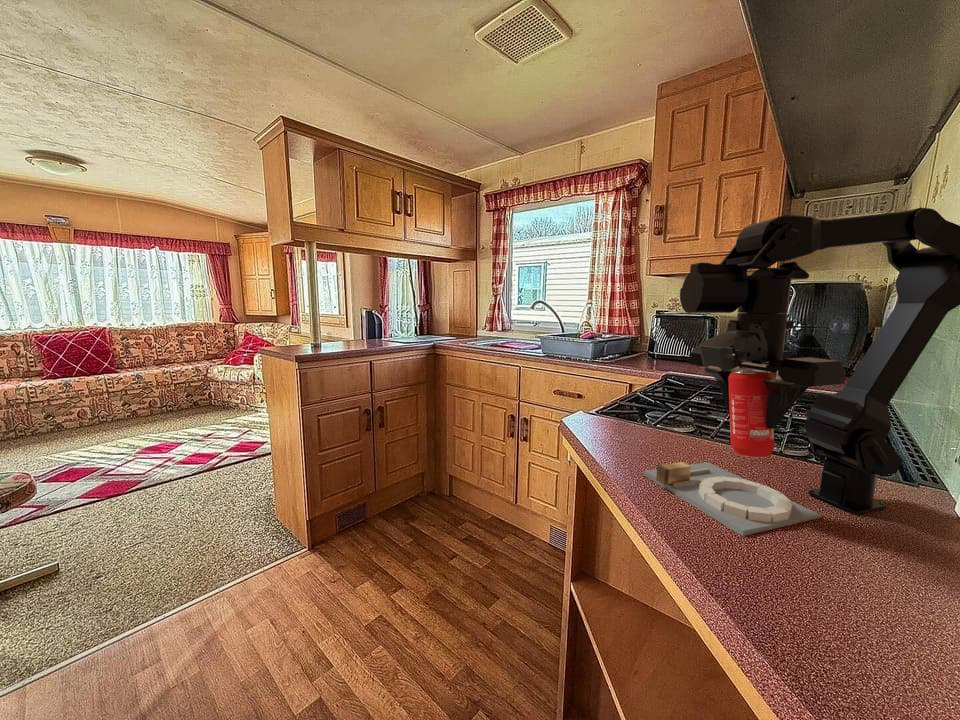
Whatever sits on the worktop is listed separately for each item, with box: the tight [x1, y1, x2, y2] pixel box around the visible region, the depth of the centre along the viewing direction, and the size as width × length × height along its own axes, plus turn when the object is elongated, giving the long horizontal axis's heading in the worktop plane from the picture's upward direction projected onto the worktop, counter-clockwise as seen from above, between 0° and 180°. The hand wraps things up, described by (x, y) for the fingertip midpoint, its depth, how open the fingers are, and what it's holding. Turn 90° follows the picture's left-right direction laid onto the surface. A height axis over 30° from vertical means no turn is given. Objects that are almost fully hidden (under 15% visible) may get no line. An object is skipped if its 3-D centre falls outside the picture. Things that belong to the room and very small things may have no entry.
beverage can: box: [728, 369, 775, 459], centre depth 57 cm, size 5×5×12 cm
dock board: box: [643, 461, 822, 537], centre depth 62 cm, size 14×19×2 cm
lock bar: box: [656, 461, 691, 485], centre depth 64 cm, size 5×2×2 cm, turn 106°
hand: (750, 422), depth 57 cm, fingers closed on beverage can, 5 cm apart
